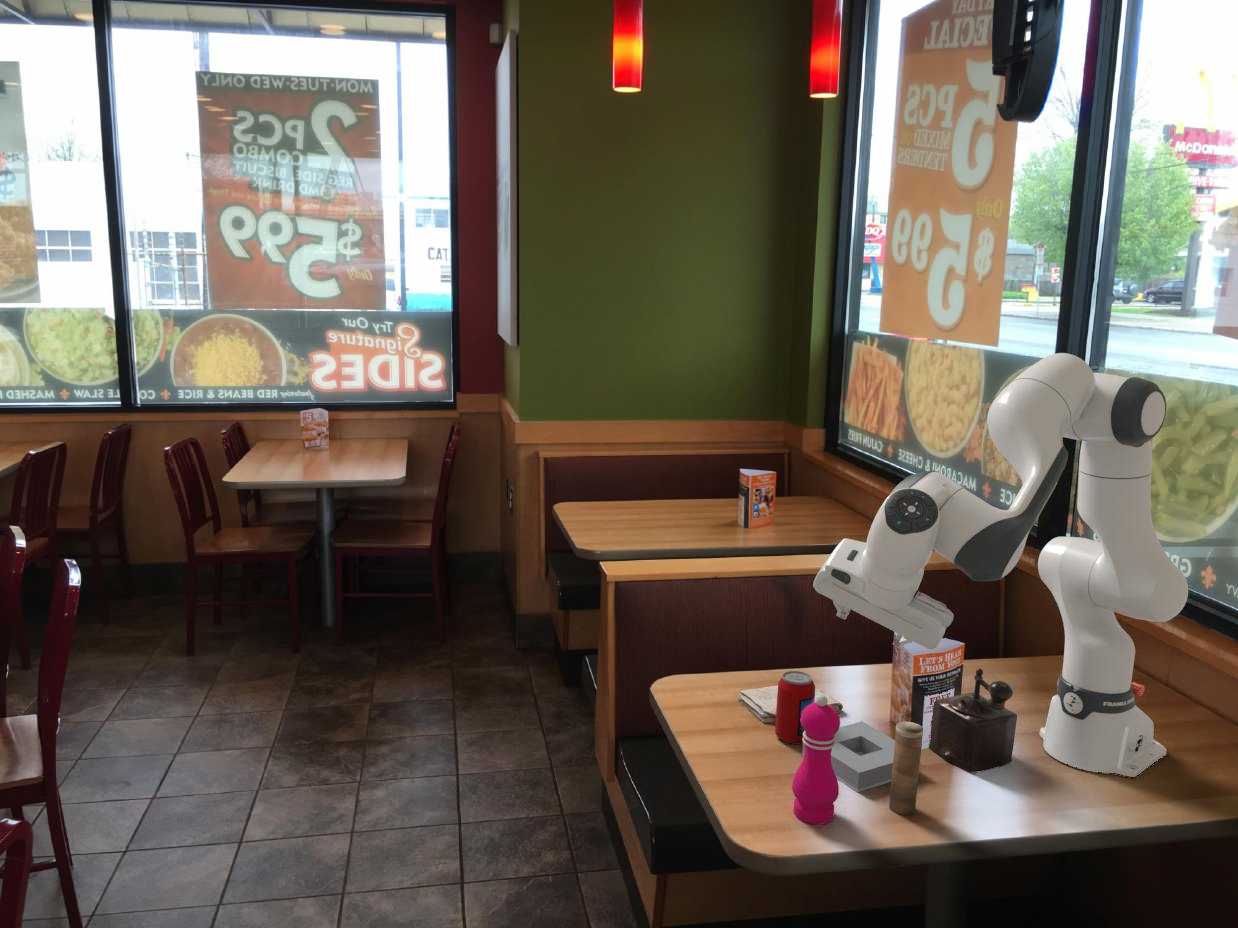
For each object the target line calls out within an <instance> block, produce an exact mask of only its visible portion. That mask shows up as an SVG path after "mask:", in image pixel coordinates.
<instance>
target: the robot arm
mask: <svg viewBox="0 0 1238 928" xmlns="http://www.w3.org/2000/svg"><path fill="white" fill-rule="evenodd" d="M1166 415H1167V400H1166V396H1165V395H1164V392H1163V391H1162V389H1161V388H1160V387H1159V385H1158V384H1157V383H1155V382H1153V381H1151V380H1148V379H1145V378H1141V377H1136V376H1133V377H1127V376H1121V375H1116V374H1111V373H1105V372H1093V370H1092V368H1091V367H1090V366H1089V364H1087V362H1086V361H1085V360H1084V359H1082V358H1080V357H1078V356H1077V355H1074V354H1070V353H1068V352H1067V353H1066V352H1058V353H1057V352H1056V353H1053V354H1049V355H1047V356H1045V357H1044V358H1041V359H1040V360H1038V361H1036V362H1035V363H1034V364H1032V365H1030V366H1029V367H1027V368H1026V369H1025V370H1023V371H1022V372H1021V373H1019V375H1018V376H1016V377H1015V378H1014V379H1013V380H1011V382H1010V383H1008V384H1007V386H1005V388H1003V390H1001V392H1000V393H999V394H998V395H997V396H996V398H994V400H993V402H992V403H991V405H990V406H989V409H988V413H987V420H986V421H987V429H988V433H989V436H990V438H991V441H992V443H993V445H994V446H995V448H996V449H997V451H998V453H1000V454H1001V456H1003V457H1004V458H1005V459H1006V460H1007V462H1008V463H1009V464H1010V466H1012V467H1013V468H1014V470H1015V472H1016V473H1017V474H1018V475H1019V477H1020V479H1021V482H1022V486H1021V488H1020V489H1019V491H1018V492H1017V494H1016V496H1015V498H1014V500H1013V501H1012V503H1011V505H1010V506H1009V508H1008V509H1002V508H1001V509H1000V508H997V507H995V506H993V505H991V504H989V503H988V502H986V501H985V500H983V499H981V498H980V497H978V496H977V495H975V494H974V493H972V492H971V491H969V490H967V489H966V488H965V487H963V486H962V485H960V484H959V483H957V482H956V481H954V480H952V478H951V479H950V478H949V477H947V476H946V475H944V474H942V473H940V472H939V471H937V470H927V471H926V470H925V471H922V472H917V473H914V474H910V475H909V476H906V477H905V478H904V479H903V480H902V481H900V482H899V483H898V484H897V485H896V486H895V487H894V488H893V490H892V491H891V492H890V493H889V495H888V496H887V497H886V498H885V500H884V501H883V503H882V505H881V506H880V507H879V509H878V510H877V512H876V514H875V516H874V519H873V521H872V524H871V525H870V528H869V531H868V535H867V538H866V542H864V541H860V540H856V539H853V538H852V539H851V538H843V539H842V540H840V542H839V543H838V544H837V545H836V546H835V548H834V549H833V551H832V552H831V553H830V554H829V556H828V558H827V559H826V561H825V562H824V563H823V565H822V566H821V567H820V570H819V571H818V573H817V574H816V575H815V578H814V580H813V584H812V586H813V588H814V589H815V591H816V593H817V594H820V595H822V596H824V597H826V598H828V599H830V600H831V601H832V603H833V606H835V609H836V611H837V613H836V617H838V618H840V619H842V620H846V619H847V617H848V615H849V614H850V612H851V611H853V612H855V613H858V614H859V615H861V616H863V617H865V618H867V619H868V620H871V621H873V622H874V623H877V624H879V625H881V626H883V627H884V628H887V629H889V630H890V631H893V632H894V633H896V634H897V635H896V636H895V637H894V640H893V643H892V644H891V645H893V647H896V648H897V649H900V650H902V648H903V647H904V645H908V644H912V643H913V642H914V643H915V644H918V645H920V646H922V647H924V648H925V649H928V650H935V649H938V648H939V647H938V646H939V645H940V642H941V641H942V639H943V637H944V635H945V632H946V630H947V628H948V627H950V626H951V625H952V623H953V621H954V617H955V615H954V613H953V612H952V611H951V610H950V609H949V608H947V605H946V604H945V603H943V602H941V601H939V600H936V599H934V598H932V597H931V596H929V595H927V594H925V593H923V592H921V591H919V587H920V584H921V582H922V580H923V576H924V572H925V567H926V566H927V565H928V563H929V561H930V559H931V556H932V553H933V551H935V553H938V554H939V555H941V556H942V557H944V558H945V559H946V560H947V561H949V562H950V563H952V564H953V565H954V567H957V569H958V570H960V571H961V572H962V573H964V574H965V575H966V576H967V577H969V578H970V579H971V580H972V581H973V582H994V581H999V580H1002V579H1003V578H1004V577H1005V576H1007V575H1008V574H1009V573H1011V571H1012V570H1013V569H1014V568H1015V567H1016V566H1017V563H1018V562H1019V561H1020V558H1021V557H1022V554H1023V552H1024V549H1025V545H1026V542H1027V539H1028V536H1029V534H1030V532H1031V531H1032V529H1033V527H1034V526H1035V524H1036V522H1037V520H1038V519H1039V517H1040V515H1041V514H1042V511H1043V509H1044V507H1045V506H1046V505H1047V502H1048V501H1049V499H1050V497H1051V495H1052V494H1053V492H1054V490H1055V488H1056V486H1057V484H1058V482H1059V480H1060V478H1061V477H1062V474H1063V472H1064V470H1065V468H1066V466H1067V461H1068V457H1069V451H1068V450H1067V449H1066V447H1065V445H1064V442H1063V441H1064V439H1063V438H1067V439H1071V440H1077V441H1081V445H1080V452H1079V460H1078V461H1079V462H1078V480H1077V481H1078V482H1077V501H1076V502H1077V503H1076V505H1077V506H1076V507H1077V512H1078V514H1079V516H1080V518H1081V519H1082V521H1083V522H1084V523H1085V524H1086V525H1087V526H1089V528H1090V529H1091V530H1092V531H1093V532H1094V534H1096V537H1097V539H1098V540H1094V539H1091V538H1090V539H1089V538H1086V537H1079V536H1077V537H1076V536H1057V537H1054V538H1052V539H1051V540H1050V541H1048V542H1047V543H1046V544H1045V545H1044V547H1043V548H1042V549H1041V551H1040V553H1039V556H1038V560H1037V568H1038V575H1039V577H1040V579H1041V581H1042V582H1043V583H1044V585H1046V587H1047V588H1048V589H1049V591H1050V592H1051V593H1052V596H1053V598H1054V600H1055V602H1056V605H1057V607H1058V610H1059V612H1060V615H1061V619H1062V623H1063V629H1064V647H1063V648H1064V650H1063V651H1064V652H1063V664H1062V670H1061V672H1060V673H1059V675H1058V679H1057V683H1056V686H1057V688H1056V693H1057V694H1055V695H1054V696H1052V698H1051V701H1050V705H1049V709H1048V714H1047V718H1046V723H1045V727H1040V728H1039V733H1038V734H1039V736H1040V737H1041V738H1042V739H1043V741H1042V742H1043V744H1042V745H1043V748H1044V750H1045V751H1046V753H1047V754H1049V756H1050V757H1052V758H1054V759H1055V760H1056V761H1059V762H1061V763H1062V764H1063V763H1064V764H1065V765H1067V764H1068V766H1070V767H1073V768H1076V767H1077V768H1076V769H1079V770H1082V769H1083V770H1084V771H1088V772H1091V771H1092V772H1091V773H1098V772H1102V773H1101V774H1106V773H1105V772H1109V773H1111V772H1112V773H1117V774H1122V775H1128V776H1136V775H1138V774H1140V773H1141V772H1142V771H1144V770H1145V769H1146V768H1148V767H1149V766H1150V765H1152V764H1153V763H1154V762H1156V761H1157V762H1158V759H1160V758H1161V759H1163V758H1164V757H1165V756H1166V755H1167V748H1165V746H1164V745H1162V744H1161V743H1159V741H1157V740H1156V739H1154V733H1155V732H1154V731H1155V730H1154V727H1155V725H1154V722H1153V720H1152V719H1151V718H1150V717H1149V716H1148V715H1147V714H1146V713H1145V712H1144V711H1142V710H1141V709H1140V708H1139V707H1138V706H1137V705H1136V702H1135V695H1136V696H1139V697H1141V696H1143V694H1144V693H1145V686H1144V685H1143V684H1140V683H1136V682H1135V681H1133V682H1132V679H1133V671H1134V665H1135V664H1134V663H1135V656H1136V647H1135V644H1134V643H1135V642H1134V641H1133V639H1132V637H1131V636H1130V635H1129V634H1128V633H1127V632H1126V631H1125V630H1124V629H1123V627H1122V626H1121V624H1120V623H1119V621H1118V620H1117V618H1116V615H1115V613H1117V614H1119V615H1122V616H1126V617H1130V618H1131V619H1135V620H1141V621H1142V620H1143V621H1150V622H1157V623H1158V622H1160V623H1165V622H1168V621H1171V620H1172V619H1173V618H1175V617H1177V616H1178V615H1179V614H1180V613H1181V611H1182V610H1183V609H1184V607H1185V606H1186V603H1187V600H1188V597H1189V585H1188V581H1187V579H1186V576H1185V574H1184V573H1183V570H1181V569H1180V568H1179V567H1178V566H1177V565H1176V564H1175V563H1174V562H1173V561H1172V560H1171V558H1170V557H1169V556H1168V554H1167V553H1166V551H1165V550H1164V548H1163V546H1162V544H1161V542H1160V539H1159V538H1158V534H1157V533H1156V530H1155V527H1154V524H1153V519H1152V517H1153V516H1152V504H1151V502H1152V499H1151V497H1152V495H1151V493H1152V471H1153V470H1152V469H1153V448H1152V439H1153V438H1154V437H1156V435H1157V434H1158V433H1159V432H1160V430H1161V429H1162V428H1163V425H1164V423H1165V419H1166ZM1134 694H1135V695H1134ZM1163 756H1164V757H1163ZM1161 759H1160V760H1161ZM1157 762H1156V763H1157ZM1153 765H1154V764H1153ZM1153 765H1152V766H1153ZM1149 768H1150V767H1149ZM1149 768H1148V769H1149ZM1145 771H1146V770H1145ZM1145 771H1144V772H1145ZM1103 772H1104V773H1103ZM1109 773H1108V774H1109ZM1117 774H1116V775H1117ZM1141 774H1142V773H1141ZM1141 774H1140V775H1141Z"/></svg>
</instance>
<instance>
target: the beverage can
mask: <svg viewBox="0 0 1238 928" xmlns="http://www.w3.org/2000/svg"><path fill="white" fill-rule="evenodd" d="M777 686H778V692H777V707H776V722H775V723H774V724H775V725H774V726H775V728H774V729H775V730H774V732H775V735H776V737H777V738H779V739H780V740H782V741H783V742H785V743H787V744H792V745H799V744H803V740H802V739H803V732H804V731H805V730H804V729H803V727H802V725H801V714H802V711H803V710H804V708H805V707H806V706H808V705H809V704H812V703H814V702H815V686H816V685H815V683H814V681H813V677H812V675H810V674H809V673H807V672H804V671H798V670H789V671H785V672H784V673H782V676H781V677H780V679H779V681H778V684H777Z"/></svg>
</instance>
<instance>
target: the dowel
mask: <svg viewBox="0 0 1238 928" xmlns="http://www.w3.org/2000/svg"><path fill="white" fill-rule="evenodd" d="M923 733H924V727H922V726H921V725H920V724H918V723H915V722H912V721H899V722H897V723H896V724H895V738H894V740H895V748H894V759H893V770H892V781H891V782H890V794H889V795H890V796H889V805H888V807H889V810H891V811H892V812H893V813H894V814H897V815H901V816H911V815H913V814H915V813H916V808H917V807H916V806H917V805H916V804H917V796H918V786H919V785H918V784H919V774H920V762H921V754H922V753H921V752H922V745H923V743H922V740H923V735H924V734H923Z"/></svg>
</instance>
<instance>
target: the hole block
mask: <svg viewBox="0 0 1238 928" xmlns="http://www.w3.org/2000/svg"><path fill="white" fill-rule="evenodd" d="M834 735H835V737H836V739H835V746H834V747H833V748H832V751H831V763H832V768H833V770H834V773H835V775H836V778H837V781H839V782H841V783H843V784H844V785H846V786H847V787H849V788H850V789H852V790H853V791H855V792H856V793H860V792H864V791H866V790H870V789H872V788H877V787H879V786H882V785H886V784H888V783H891V781H892V770H893V759H894V748H895V738H892V737H890V736H888V735H886V734H885V733H883V732H881V731H879V730H878V729H876V728H875V727H873V726H871V725H869V724H868V723H866V722H864V721H859V722H855V723H851V724H846V725H843V726H840V727H839V730H838V731H837V732H836V733H835V734H834ZM801 749H802V750H801V756H802V757H804V753H805V744H804V743H802V748H801Z"/></svg>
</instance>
